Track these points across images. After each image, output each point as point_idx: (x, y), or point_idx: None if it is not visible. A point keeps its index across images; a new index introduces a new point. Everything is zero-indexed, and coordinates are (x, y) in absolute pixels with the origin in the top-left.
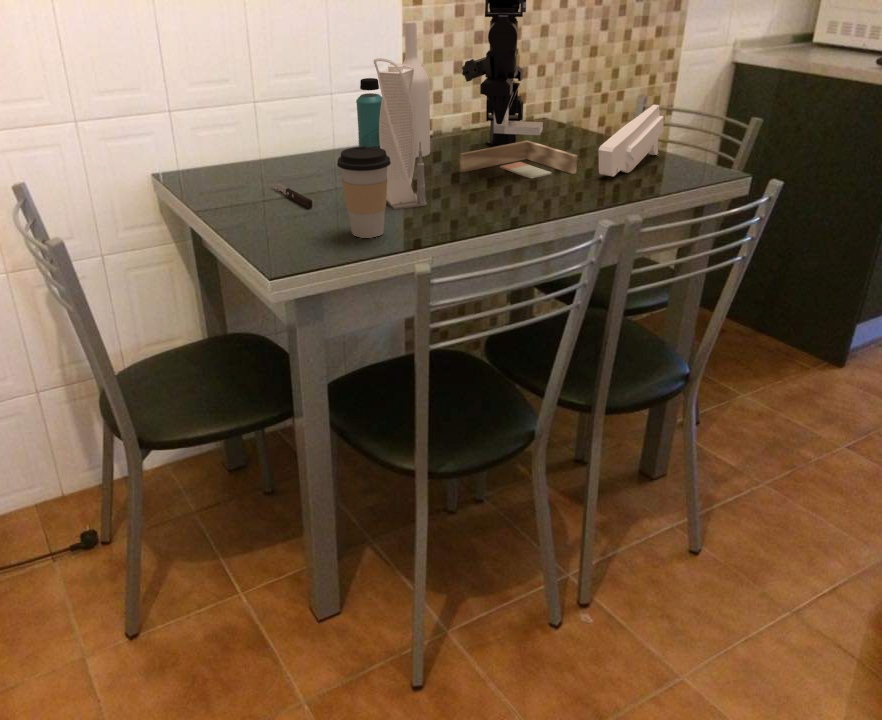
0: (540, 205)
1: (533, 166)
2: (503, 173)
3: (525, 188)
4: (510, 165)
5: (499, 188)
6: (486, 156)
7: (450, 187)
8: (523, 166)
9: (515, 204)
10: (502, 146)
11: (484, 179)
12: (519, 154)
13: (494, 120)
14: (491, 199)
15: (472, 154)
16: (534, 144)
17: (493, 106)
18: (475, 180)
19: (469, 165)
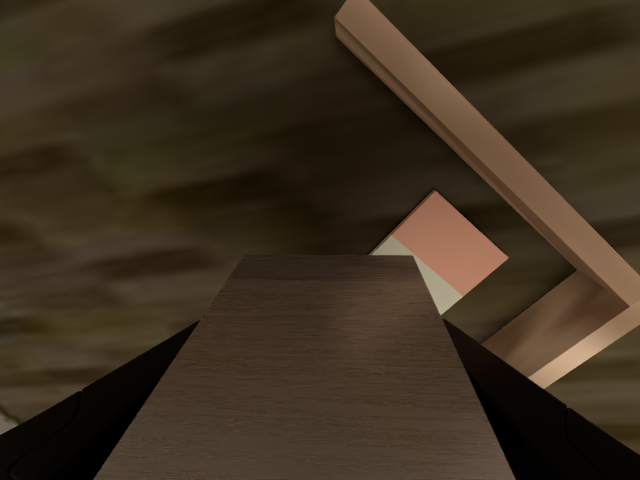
0: (64, 362)
1: (442, 311)
2: (355, 216)
3: (198, 310)
4: (448, 231)
5: (167, 233)
6: (446, 134)
7: (101, 40)
8: (439, 279)
9: (37, 303)
10: (539, 206)
11: (256, 159)
12: (568, 257)
13: (216, 307)
14: (43, 229)
15: (385, 67)
16: (581, 339)
17: (36, 424)
18: (232, 126)
19: (365, 60)
